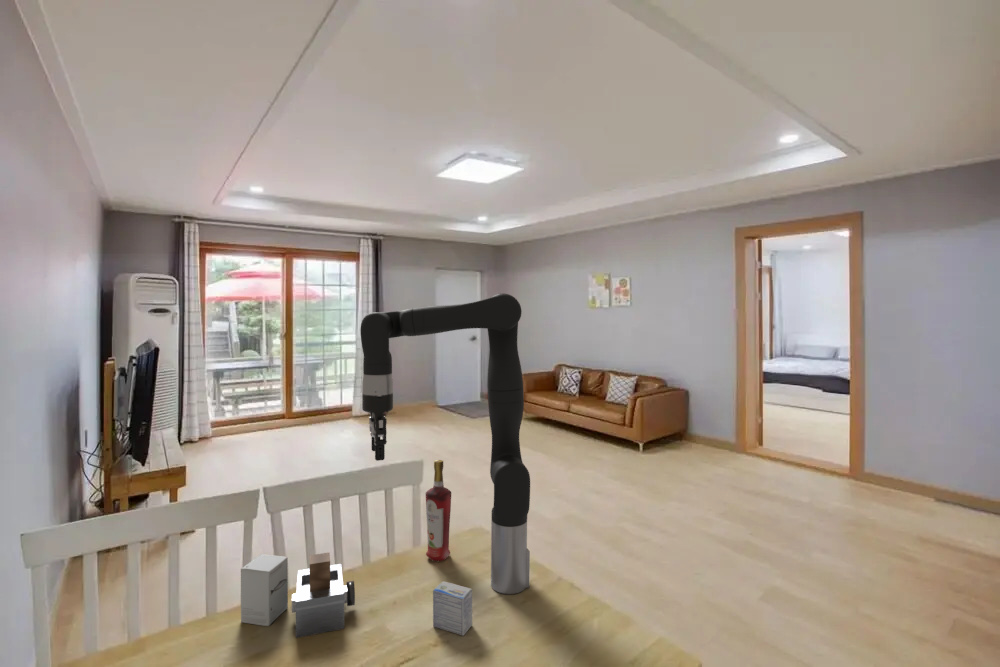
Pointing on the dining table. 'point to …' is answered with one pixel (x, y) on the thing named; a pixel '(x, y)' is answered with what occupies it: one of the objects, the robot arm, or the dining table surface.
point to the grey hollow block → (319, 604)
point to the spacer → (319, 572)
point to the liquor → (438, 516)
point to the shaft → (348, 595)
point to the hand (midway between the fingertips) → (377, 455)
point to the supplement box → (264, 589)
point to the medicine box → (452, 608)
